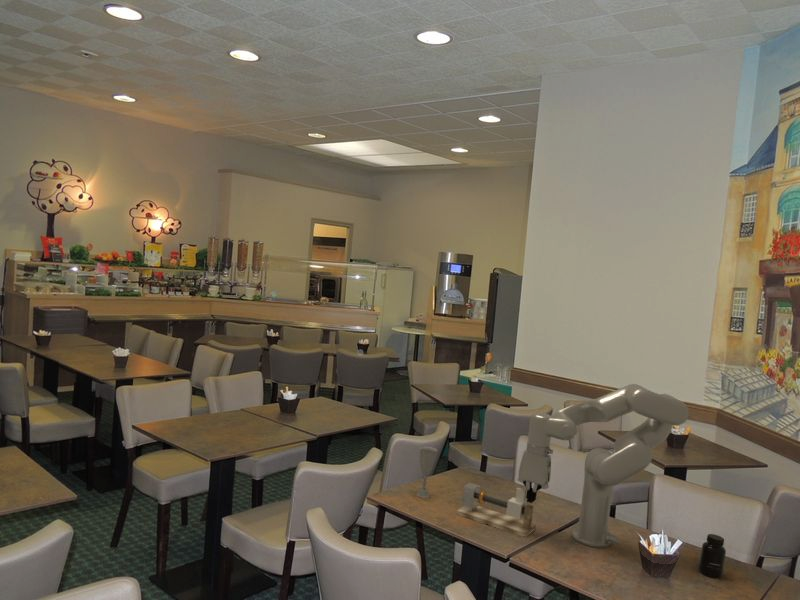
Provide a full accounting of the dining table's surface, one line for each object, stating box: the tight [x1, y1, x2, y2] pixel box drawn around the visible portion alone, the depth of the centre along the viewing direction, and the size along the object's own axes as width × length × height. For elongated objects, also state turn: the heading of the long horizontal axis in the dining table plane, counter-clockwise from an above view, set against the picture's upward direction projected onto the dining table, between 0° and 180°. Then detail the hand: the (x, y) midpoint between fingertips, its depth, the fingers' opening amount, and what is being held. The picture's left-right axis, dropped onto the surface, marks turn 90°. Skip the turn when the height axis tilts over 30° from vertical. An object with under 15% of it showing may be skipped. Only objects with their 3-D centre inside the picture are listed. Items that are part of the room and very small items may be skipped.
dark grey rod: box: [475, 492, 525, 513], centre depth 225 cm, size 21×2×2 cm, turn 58°
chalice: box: [416, 445, 438, 499], centre depth 242 cm, size 7×7×18 cm
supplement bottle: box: [698, 533, 727, 579], centre depth 201 cm, size 7×7×12 cm
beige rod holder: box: [456, 503, 537, 538], centre depth 225 cm, size 26×10×9 cm, turn 58°
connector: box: [460, 482, 487, 512], centre depth 229 cm, size 7×5×8 cm
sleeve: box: [505, 487, 528, 520], centre depth 221 cm, size 5×5×10 cm
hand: (530, 501), depth 218 cm, fingers closed
